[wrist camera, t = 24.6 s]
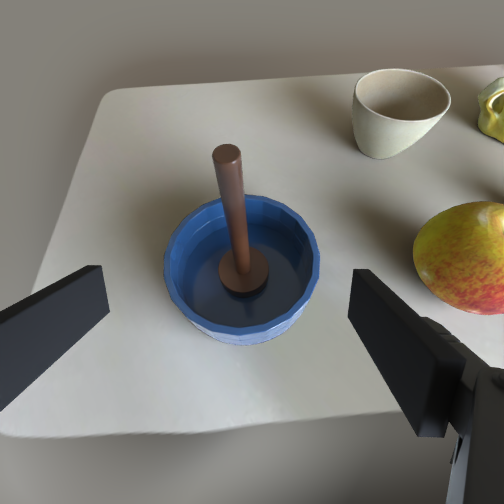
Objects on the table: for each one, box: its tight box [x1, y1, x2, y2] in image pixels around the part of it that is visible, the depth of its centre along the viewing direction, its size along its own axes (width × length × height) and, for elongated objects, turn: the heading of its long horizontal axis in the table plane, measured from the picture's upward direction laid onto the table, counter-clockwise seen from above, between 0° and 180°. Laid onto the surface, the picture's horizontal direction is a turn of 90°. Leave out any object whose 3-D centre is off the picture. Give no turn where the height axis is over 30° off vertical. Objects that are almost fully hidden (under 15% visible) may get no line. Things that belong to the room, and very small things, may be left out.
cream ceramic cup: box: [352, 68, 451, 159], centre depth 32 cm, size 10×10×7 cm
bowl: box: [164, 194, 320, 345], centre depth 24 cm, size 13×13×5 cm
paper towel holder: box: [212, 144, 269, 298], centre depth 19 cm, size 5×5×15 cm
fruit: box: [413, 201, 504, 315], centre depth 22 cm, size 10×9×8 cm
